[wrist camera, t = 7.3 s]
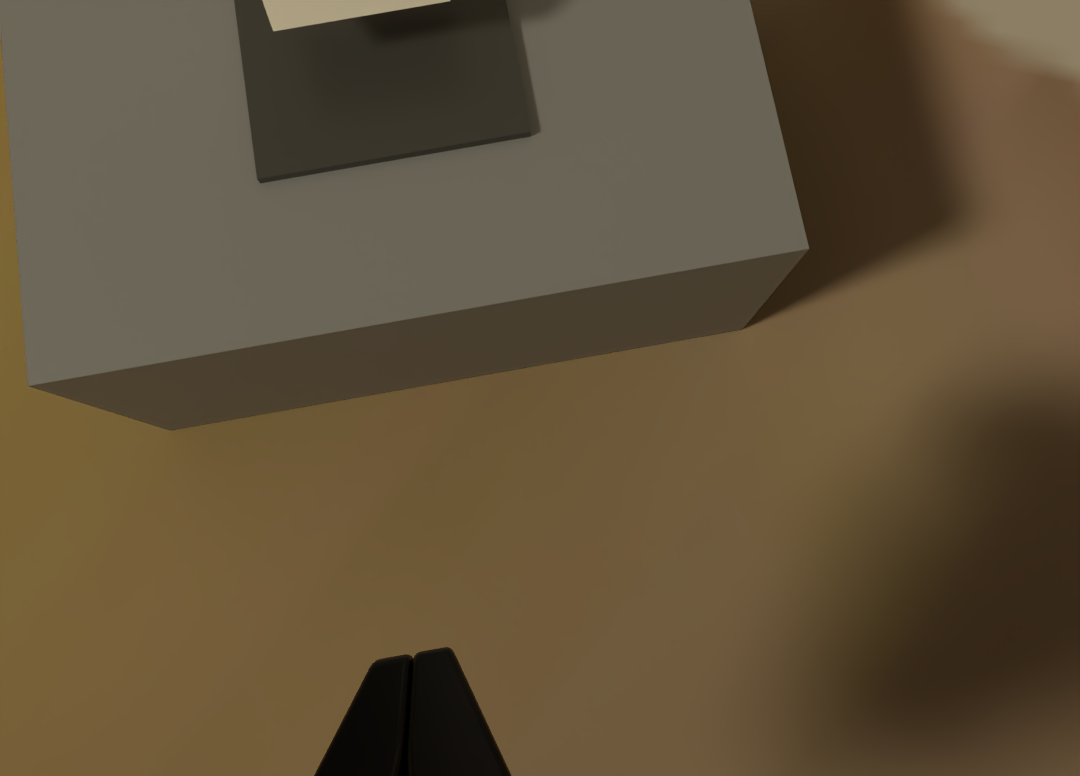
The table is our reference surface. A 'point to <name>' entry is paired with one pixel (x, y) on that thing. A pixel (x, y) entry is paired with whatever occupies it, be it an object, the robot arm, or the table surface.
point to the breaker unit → (380, 194)
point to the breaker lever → (330, 10)
